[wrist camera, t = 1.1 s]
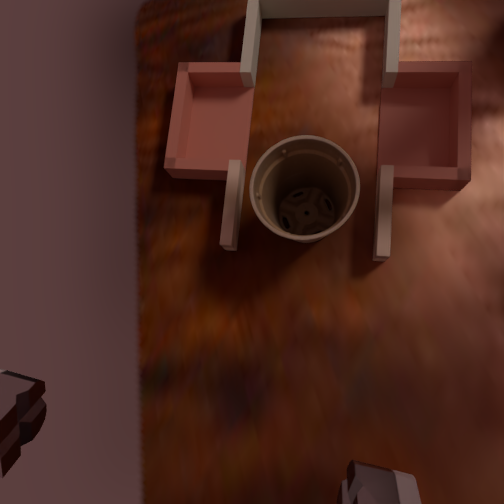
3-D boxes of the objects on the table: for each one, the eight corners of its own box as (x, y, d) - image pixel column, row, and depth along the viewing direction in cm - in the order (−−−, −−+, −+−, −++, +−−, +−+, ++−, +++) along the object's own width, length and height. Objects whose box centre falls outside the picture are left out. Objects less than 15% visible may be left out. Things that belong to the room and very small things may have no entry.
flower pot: (243, 217, 45) (227, 190, 37) (304, 154, 45) (301, 114, 37) (307, 276, 43) (305, 263, 34) (370, 210, 43) (383, 181, 35)
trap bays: (460, 190, 42) (470, 180, 39) (173, 178, 47) (163, 168, 44) (461, 79, 44) (472, 61, 41) (187, 78, 49) (178, 62, 46)
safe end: (392, 88, 45) (398, 72, 42) (244, 87, 48) (239, 72, 45) (396, 6, 47) (401, -16, 44) (253, 9, 50) (249, -11, 47)
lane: (384, 261, 42) (389, 256, 39) (225, 250, 45) (219, 244, 42) (388, 176, 44) (393, 165, 41) (234, 170, 46) (229, 159, 43)
